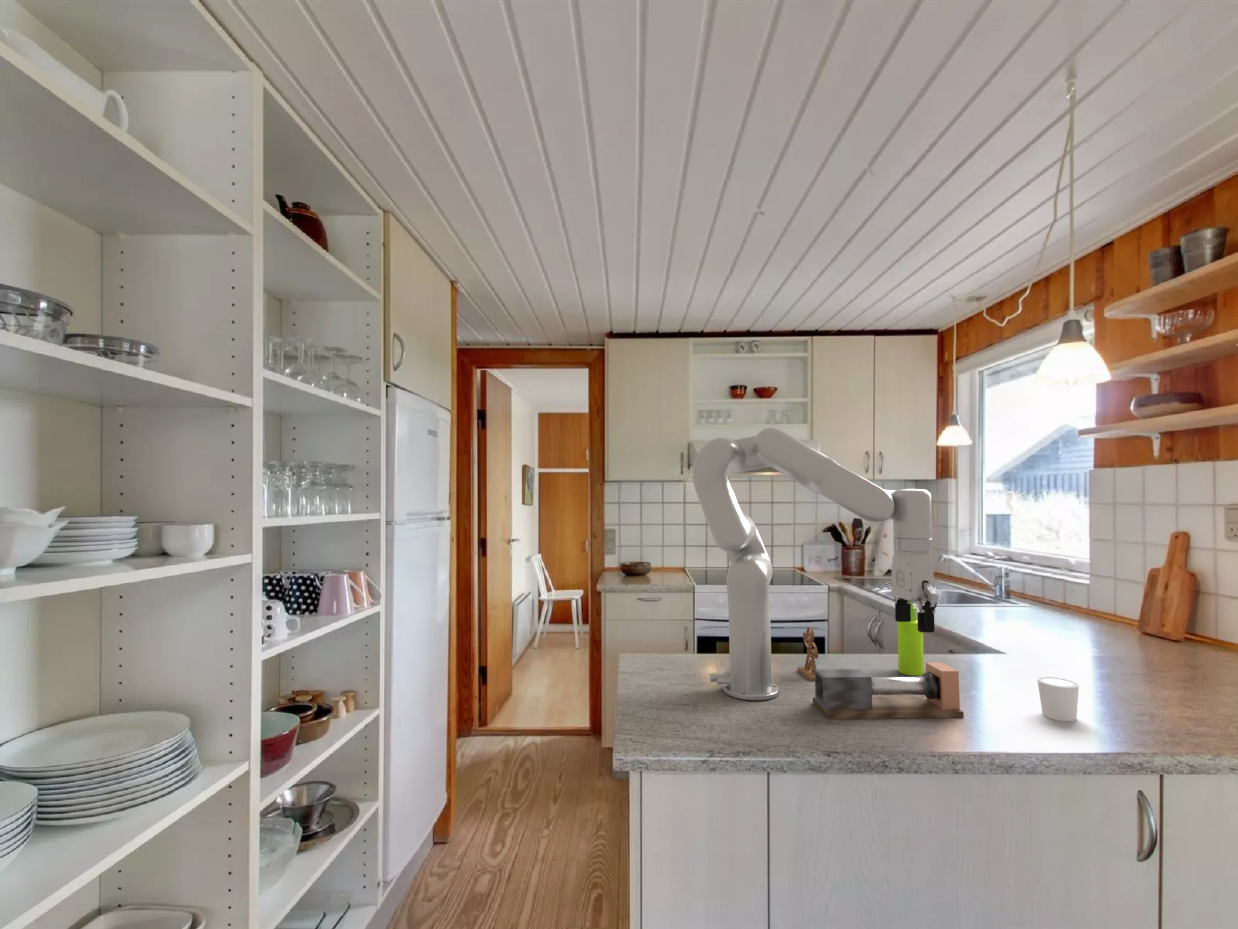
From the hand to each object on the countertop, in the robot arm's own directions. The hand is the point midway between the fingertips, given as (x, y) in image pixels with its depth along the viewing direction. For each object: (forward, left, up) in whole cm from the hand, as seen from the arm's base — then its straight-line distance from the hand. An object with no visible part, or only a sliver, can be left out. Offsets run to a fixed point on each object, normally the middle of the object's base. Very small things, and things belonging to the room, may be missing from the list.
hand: (914, 626), depth 126 cm
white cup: (+27, -4, -18) cm, 33 cm away
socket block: (+6, 0, -16) cm, 17 cm away
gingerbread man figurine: (-15, +24, -18) cm, 33 cm away
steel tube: (-4, 0, -15) cm, 16 cm away
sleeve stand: (-7, 0, -18) cm, 19 cm away
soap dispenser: (+12, +26, -18) cm, 34 cm away
